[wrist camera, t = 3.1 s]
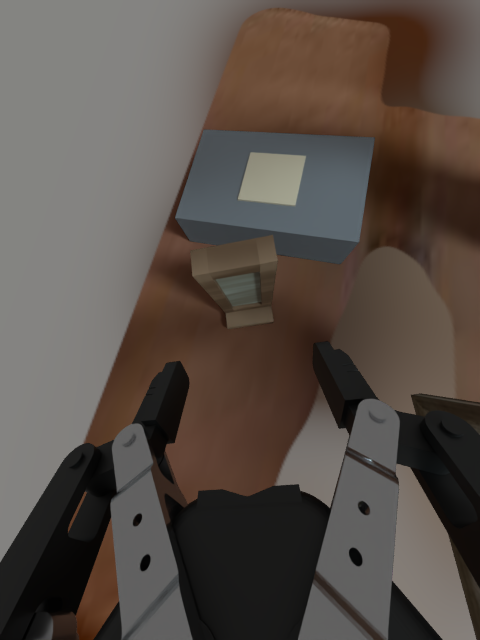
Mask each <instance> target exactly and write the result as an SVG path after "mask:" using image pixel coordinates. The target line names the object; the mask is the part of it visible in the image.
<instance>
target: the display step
mask: <svg viewBox="0 0 480 640" xmlns="http://www.w3.org/2000/svg"><path fill="white" fill-rule="evenodd" d="M374 140H375V138H372V137H350V136H329V135H308V134H287V133H266V132H244V131H223V130H204V131H203V134H202V137H201V140H200V143H199V146H198V149H197V152H196V155H195V158H194V161H193V164H192V167H191V170H190V173H189V176H188V180H187V183H186V186H185V189H184V192H183V195H182V198H181V201H180V204H179V207H178V210H177V213H176V216H175V219H176V220H177V222H178V223H179V225H180V226H181V228H182V229H183V231H184V233H185V234H186V236H187V237H188V239H189V240H190V241H193V242H199V243H206V244H212V245H222V244H228V243H233V242H238V241H243V240H248V239H254V238H259V237H264V236H269V235H273V238H274V244H275V249H276V254H277V255H284V256H290V257H297V258H303V259H310V260H317V261H323V262H330V263H336V264H341V263H342V262H343V261H344V259H345V258H346V257H347V256H348V255H349V253H350V252H351V251H352V250H353V249H354V247H355V246H356V245H357V244H358V243H359V238H360V232H361V225H362V219H363V212H364V206H365V199H366V192H367V186H368V179H369V173H370V166H371V160H372V153H373V147H374Z"/></svg>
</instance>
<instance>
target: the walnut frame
mask: <svg viewBox="0 0 480 640" xmlns="http://www.w3.org/2000/svg"><path fill="white" fill-rule="evenodd" d="M190 253H191V265H192V276H193V277H194V278H195V280H196V281H197V282H198V283H199V284H200V285H201V286H202V287H203V288H204V290H205V291H206V292H207V293H208V294H209V295H210V296H211V297H212V298H213V300H214V301H215V302H216V303H217V304H218V305H219V306H220V307H221V308H222V310H223V311H224V312H225V313H226V320H227V328H228V329H234V328H241V327H248V326H255V325H262V324H268V323H273V322H274V320H273V314H272V308H271V304H272V297H273V290H274V283H275V276H276V269H277V262H278V260H277V255H276V249H275V244H274V238H273V235H269V236H264V237H259V238H254V239H248V240H243V241H238V242H233V243H228V244H222V245H217V246H212V247H207V248H202V249H196V250H191V251H190Z"/></svg>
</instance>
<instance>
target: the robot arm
mask: <svg viewBox="0 0 480 640" xmlns="http://www.w3.org/2000/svg"><path fill="white" fill-rule="evenodd" d="M313 368H314V371H315V374H316V376H317V379H318V381H319V383H320V386H321V388H322V390H323V393H324V395H325V397H326V400H327V402H328V404H329V407H330V409H331V411H332V414H333V416H334V418H335V421H336V423H337V425H338V428H339V429H340V428H346V429H347V431H348V433H349V435H350V436H349V440H348V443H347V447H346V451H345V455H344V459H343V462H342V466H341V470H340V474H339V478H338V481H337V485H336V488H335V492H334V496H333V500H332V503H331V507H330V508H329V507H328V506H327V505H326V504H324V503H323V502H322V501H320V500H319V499H317V498H316V497H314V496H312V495H310V494H308V493H305V492H302V491H300V488H299V485H298V484H297V485H281V486H272V487H270V488H267V489H265V490H263V491H260V492H258V493H256V494H253V495H251V496H243V495H239V494H236V493H233V492H229V491H226V490H223V489H221V490H205V491H199V492H198V499H196V500H194V501H193V502H191V503H189V504H187V501H186V499H185V497H184V495H183V494H182V492H181V490H180V489H179V487H178V484H177V482H176V479H175V476H174V473H173V471H172V468H171V465H170V462H169V460H168V457H167V454H166V452H165V448H166V444H170V443H175V439H176V435H177V431H178V428H179V424H180V420H181V416H182V412H183V408H184V405H185V401H186V397H187V393H188V389H189V377H188V375H187V373H186V371H185V369H184V367H183V365H182V363H181V362H180V361H176V362H169V363H166V365H165V367H164V369H163V371H162V372H159V373H158V374H157V375H156V377H155V378H154V379H153V380H152V382H151V384H150V387H149V390H148V391H147V393H146V396H145V397H144V399H143V402H142V404H141V406H140V408H139V410H138V412H137V414H136V417H135V419H134V421H133V423H132V424H131V425H129V426H127V427H125V428H124V429H123V430H122V431H121V432H120V433H119V434H118V435H117V436H116V438H115V440H112V441H110V442H108V443H105V444H103V445H101V446H99V447H95V446H94V445H92V444H90V443H86V444H83V445H80V446H79V447H77V448H75V449H74V450H73V451H72V452H71V453H69V455H68V456H67V457H66V458H65V459H64V461H63V462H62V464H61V465H60V467H59V468H58V470H57V472H56V473H55V475H54V477H53V478H52V480H51V481H50V483H49V485H48V486H47V488H46V489H45V491H44V493H43V494H42V496H41V498H40V499H39V501H38V502H37V504H36V506H35V507H34V509H33V511H32V512H31V514H30V515H29V517H28V519H27V520H26V522H25V524H24V525H23V527H22V528H21V530H20V531H19V533H18V535H17V536H16V538H15V540H14V541H13V543H12V545H11V546H10V548H9V549H8V551H7V553H6V554H5V556H4V557H3V559H2V561H1V562H0V640H79V635H78V633H77V620H76V617H75V616H76V613H77V610H78V608H79V605H80V602H81V599H82V596H83V594H84V591H85V588H86V585H87V582H88V580H89V577H90V574H91V571H92V569H93V566H94V563H95V560H96V557H97V555H98V552H99V549H100V546H101V543H102V541H103V538H104V535H105V532H106V530H107V527H108V524H109V521H110V518H112V528H113V539H114V550H115V560H116V571H117V582H118V592H119V602H118V603H117V605H116V606H115V608H114V609H113V611H112V612H111V614H110V615H109V617H108V618H107V620H106V621H105V623H104V625H103V626H102V628H101V629H100V631H99V632H98V634H97V635H96V637H95V638H94V640H442V638H441V637H440V636H439V635H438V634H437V633H436V631H435V630H434V629H433V628H432V627H431V626H430V624H429V623H428V622H427V621H426V620H425V619H424V617H423V616H422V615H421V614H420V613H419V612H418V610H417V609H416V608H415V607H414V606H413V605H412V603H411V602H410V601H409V600H408V599H407V597H406V596H405V595H404V594H403V593H402V592H401V590H400V589H399V588H398V587H397V586H396V585H395V583H393V581H392V572H393V559H394V545H395V532H396V519H397V506H398V493H399V482H398V478H397V477H396V463H397V464H401V465H404V466H408V467H410V468H411V469H412V471H413V473H414V475H415V476H416V478H417V480H418V482H419V483H420V485H421V487H422V489H423V490H424V492H425V494H426V496H427V497H428V499H429V501H430V503H431V504H432V506H433V508H434V510H435V511H436V513H437V515H438V517H439V518H440V520H441V522H442V523H443V525H444V527H445V529H446V530H447V532H448V534H449V536H450V538H451V539H452V541H453V543H454V545H455V546H456V548H457V550H458V552H459V553H460V555H461V557H462V559H463V560H464V562H465V564H466V566H467V567H468V569H469V571H470V572H471V574H472V576H473V578H474V579H475V581H476V583H477V585H478V586H479V588H480V435H479V434H478V432H477V431H476V430H475V429H474V428H473V427H472V426H471V425H470V424H468V423H467V422H466V421H464V420H463V419H461V418H460V417H458V416H456V415H454V414H451V413H449V412H445V411H440V410H434V411H430V412H428V413H427V414H426V416H425V417H424V416H419V415H414V414H408V413H403V412H399V411H396V410H393V409H392V408H391V407H390V406H388V405H387V404H386V403H384V402H382V401H380V400H379V399H378V398H377V397H376V396H375V394H374V393H373V391H372V390H371V388H370V387H369V385H368V384H367V382H366V381H365V379H364V378H363V376H362V375H361V373H360V372H359V371H358V369H357V368H356V366H355V365H354V364H353V362H352V360H351V359H350V357H349V356H348V355H347V354H346V353H344V352H343V351H342V350H340V349H337V350H334V349H333V348H332V346H331V345H330V343H329V342H328V341H326V342H318V343H314V344H313ZM84 492H87V494H86V496H85V499H84V501H83V503H82V505H81V507H80V509H79V511H78V513H77V516H76V518H75V520H74V522H73V524H72V526H71V528H70V531H69V533H68V527H69V524H70V521H71V519H72V517H73V515H74V513H75V511H76V509H77V507H78V505H79V503H80V500H81V498H82V496H83V494H84Z"/></svg>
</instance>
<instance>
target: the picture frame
mask: <svg viewBox="0 0 480 640" xmlns="http://www.w3.org/2000/svg"><path fill="white" fill-rule="evenodd" d="M411 397H412V401H413V405H414V408H415V412H416V415H419V416H424V417H425V416H426V414H427V413H428V412H430V411H434V410H440V411H445V412H449V413H451V414H454V415H456V416H458V417H460V418H461V419H463V420H464V421H466V422H467V423H468V424H470V425H471V426H472V427H473V428H474V429H475V430H476V431H477V432H478V434H479V435H480V403H479V402H472V401H466V400H459V399H453V398H446V397H440V396H433V395H427V394H414V395H411ZM448 535H449V534H448ZM449 538H450V536H449ZM450 542H451V546H452V550H453V553H454V557H455V561H456V564H457V568H458V571H459V576H460V579H461V583H462V587H463V590H464V594H465V598H466V602H467V605H468V609H469V613H470V616H471V620H472V624H473V627H474V631H475V635H476V639H477V640H480V588H479V586H478V585H477V583H476V581H475V579H474V578H473V576H472V574H471V572H470V571H469V569H468V567H467V566H466V564H465V562H464V560H463V559H462V557H461V555H460V553H459V552H458V550H457V548H456V546H455V545H454V543H453V541H452V539H451V538H450Z"/></svg>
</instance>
